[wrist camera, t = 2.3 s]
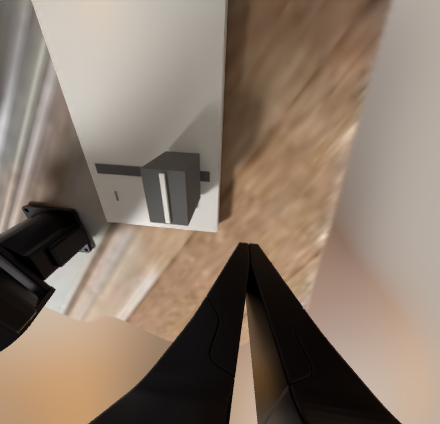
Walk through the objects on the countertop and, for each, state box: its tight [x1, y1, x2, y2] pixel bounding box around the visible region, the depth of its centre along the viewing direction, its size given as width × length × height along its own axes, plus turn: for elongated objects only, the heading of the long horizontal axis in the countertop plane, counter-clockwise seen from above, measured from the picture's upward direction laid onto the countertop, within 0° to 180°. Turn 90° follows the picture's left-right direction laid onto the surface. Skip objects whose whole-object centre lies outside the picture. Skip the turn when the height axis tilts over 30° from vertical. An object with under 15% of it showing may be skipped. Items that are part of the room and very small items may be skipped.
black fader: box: [140, 151, 201, 226], centre depth 14 cm, size 3×4×5 cm
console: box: [32, 0, 228, 232], centre depth 14 cm, size 12×25×2 cm, turn 178°
